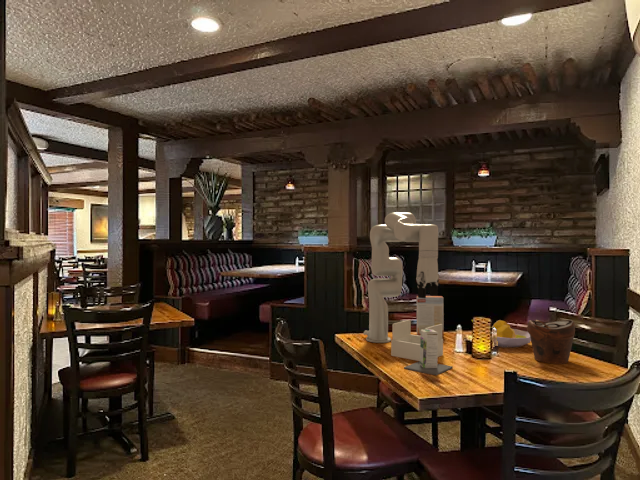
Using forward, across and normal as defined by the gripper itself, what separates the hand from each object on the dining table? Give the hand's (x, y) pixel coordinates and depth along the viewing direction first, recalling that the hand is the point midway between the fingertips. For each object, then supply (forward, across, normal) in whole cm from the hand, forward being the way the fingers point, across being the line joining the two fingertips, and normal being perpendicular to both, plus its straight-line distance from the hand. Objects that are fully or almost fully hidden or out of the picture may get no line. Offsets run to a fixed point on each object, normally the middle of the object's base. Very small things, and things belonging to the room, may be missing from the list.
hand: (427, 296), depth 191 cm
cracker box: (+29, -59, -30) cm, 73 cm away
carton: (+28, -13, -12) cm, 34 cm away
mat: (+28, +3, +2) cm, 28 cm away
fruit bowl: (+29, -62, +8) cm, 69 cm away
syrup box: (+28, +2, +2) cm, 28 cm away
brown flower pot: (+28, -45, +35) cm, 63 cm away
